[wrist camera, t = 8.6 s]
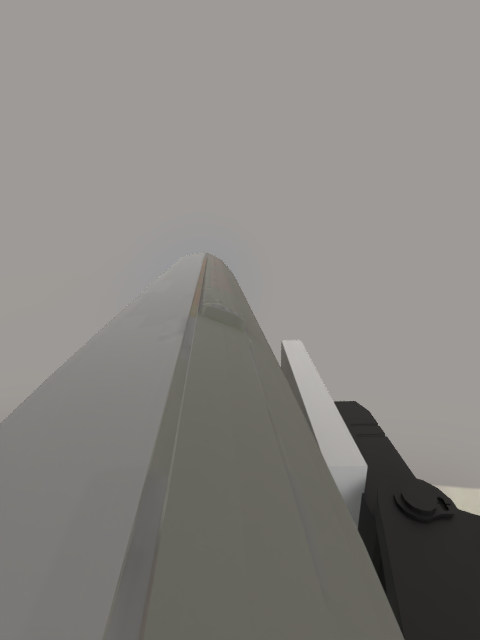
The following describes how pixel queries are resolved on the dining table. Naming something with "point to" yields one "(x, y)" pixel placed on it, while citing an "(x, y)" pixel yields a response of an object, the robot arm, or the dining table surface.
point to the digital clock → (177, 488)
